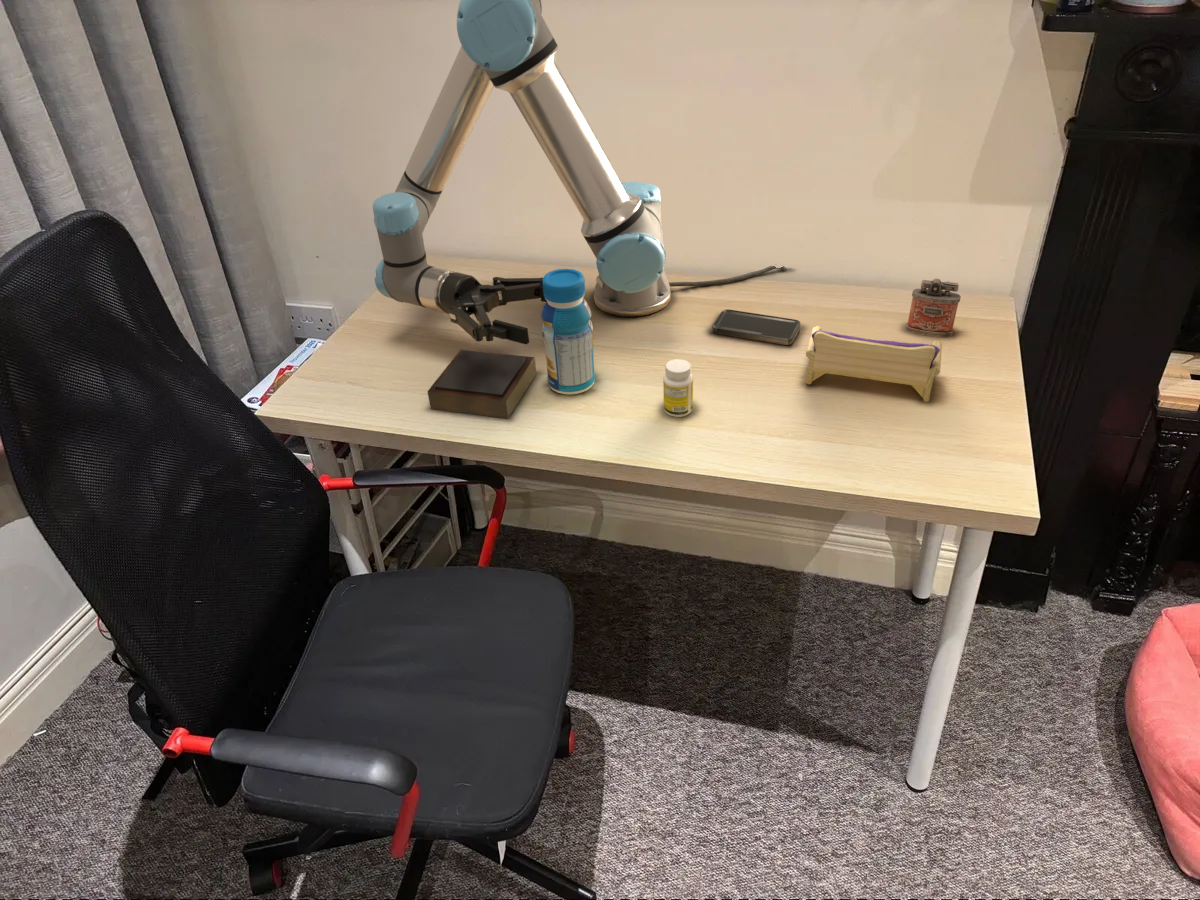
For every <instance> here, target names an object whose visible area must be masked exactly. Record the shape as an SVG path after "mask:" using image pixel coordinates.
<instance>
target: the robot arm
mask: <svg viewBox="0 0 1200 900" xmlns="http://www.w3.org/2000/svg"><path fill="white" fill-rule="evenodd" d="M542 13H543V6H542V0H460V1H459V4H458V9H457V12H456V31H457V36H458V40H459V43H460V48H459V50H458V53H457V55H456V57H455V58H454V61H453V64H452V65H451V67H450V70H449V73H448V74H447V77H446V79H445V81H444V83H443V85H442V88H441V89H440V92H439V94H438V97H437V99H436V100H435V103H434V105H433V107H432V109H431V112H430V114H429V115H428V119H427V120H426V123H425V125H424V127H423V130H422V131H421V134H420V135H419V139H418V140H417V142H416V145H415V148H414V149H413V151H412V153H411V156H410V158H409V161H408V163H407V164H406V167H405V170H404V172H403V174H402V176H401V178H400V180H399V182H398V185H397V186H396V189H395V191H394V192H388V193H385V194H382V195H381V196H380V197H377V198H375V200H374V201H373V203H372V211H373V223H374V227H375V228H376V232H377V237H378V241H379V246H380V251H381V254H382V260H381V261H379V263H378V264H377V266H376V268H375V276H374V284H375V287H376V289H377V291H378V292H379V293H380V294H381V295H382V296H384V297H385V298H389V299H392V300H394V301H396V302H398V303H405V304H410V305H414V306H418V307H422V308H425V309H430V310H432V311H437V312H440V313H444V314H447V315H449V320H450V322H451V323H453V324H455V325H458V326H459V327H460V328H461V329H463V331H465V332H466V333H467V335H468V336H470V337H471V338H472V339H473V340H474V341H475V342H483V340H484V338H485V341H486V342H489V343H491V342H492V341H494V338H496V339H500V340H508V341H511V342H515V343H519V344H522V345H525V346H526V345H529V344H530V337H529V327H525V326H521V325H517V324H514V323H510V322H507V321H503V320H498V319H494V320H492V322H491V319H490V318H489V316H488V314H489V313H491V311H492V310H493V309H496V308H497V307H500V306H502V307H503V306H507V304H508V303H513V302H520V301H529V300H538V299H540V302H542V303H546V301H547V300H546V299H545V297H544V293H543V283H542V281H543V277H507V278H506V277H500V276H494V277H492V283H491V284H482V283H480V282H479V280H478V279H477V278H475V276H473V275H471V274H467V273H462V272H458V271H454V270H450V269H446V268H441V267H437V266H433V265H429V264H428V260H427V253H426V248H425V247H426V246H425V243H424V236H423V233H424V231H425V228H426V226H427V224H428V223H429V220H430V217H431V215H432V214H433V212H434V210H435V208H436V206H437V204H438V201H439V199H440V198H441V195H442V193H443V190H444V188H445V186H446V185H447V182H448V180H449V178H450V177H451V174H452V172H453V170H454V168H455V166H456V164H457V162H458V160H459V158H460V156H461V155H462V152H463V150H464V149H465V146H466V144H467V143H468V140H469V137H470V136H471V134H472V132H473V130H474V127H475V126H476V124H477V122H478V119H479V118H480V116H481V113H482V112H483V109H484V107H485V105H486V103H487V102H488V100H489V97H490V95H491V94H492V92H493V89H494V88H495V89H497V90H501V91H504V92H507V93H508V94H509V95H510V96H511V99H512V100H513V101H514V103H515V105H516V107H517V109H518V110H519V112H520V114H521V115H522V117H523V118H524V121H525V122H526V123H527V125H528V127H529V129H530V130H531V132H532V134H533V136H534V137H535V139H536V140H537V143H538V144H539V146H540V147H541V149H542V151H543V152H544V154H545V157H546V158H547V159H548V161H549V163H550V164H551V166H552V168H553V170H554V171H555V173H556V175H557V176H558V178H559V180H560V182H561V183H562V185H563V186H564V188H565V190H566V192H567V194H568V195H569V197H570V198H571V200H572V202H573V204H574V205H575V207H576V209H577V211H578V212H579V214H580V216H581V217H582V219H583V221H582V225H581V228H580V232H581V234H582V236H583V238H584V240H585V241H586V243H587V245H588V247H589V248H590V250H591V252H592V254H593V256H594V257H595V258H596V261H595V263H596V270H597V273H598V275H596V278H595V281H596V283H595V286H594V291H593V298H594V304H595V306H596V308H598V309H599V310H600V311H603V312H604V313H607V314H609V315H613V316H619V317H641V316H647V315H648V316H649V315H651V314H654V313H657V312H659V311H661V310H663V309H664V308H666V307H667V306H668V305H669V303H670V302H671V297H672V296H671V295H672V293H671V291H672V290H671V287H700V286H701V287H702V286H703V287H704V286H714V285H722V284H728V283H733V282H737V281H741V280H745V279H748V278H752V277H756V276H759V275H763V274H765V273H768V272H771V271H772V270H773V271H774V270H777V269H778V270H781V271H783V272H788V271H789V270H788V268H787V267H786V266H784V265H782V266H783V267H781V268H776V267H775V266H772V265H770V266H767V267H765V268H763V269H759V270H754V271H750V272H748V273H745V274H741V275H738V276H732V277H727V278H722V279H721V278H720V279H714V280H713V279H712V280H704V281H703V280H702V281H672V282H671V281H670V282H669V280H668V277H667V274H666V271H665V269H664V268H665V264H666V257H667V255H666V249H665V246H664V235H663V228H662V226H663V225H662V197H661V189H660V188H659V187H658V186H657V185H655V184H653V183H649V182H639V181H625V182H624V181H623V182H622V181H621V179H620V178H619V176H618V174H617V172H616V170H615V168H614V166H613V165H612V163H611V160H610V159H609V157H608V155H607V153H606V152H605V150H604V148H603V146H602V145H601V143H600V141H599V139H598V136H597V135H596V134H595V131H594V130H593V128H592V127H591V124H590V122H589V121H588V119H587V117H586V115H585V113H584V111H583V110H582V108H581V106H580V104H579V103H578V101H577V99H576V97H575V96H574V93H573V91H572V90H571V88H570V86H569V84H568V82H567V80H566V78H565V77H564V74H562V71H561V70H560V68H559V66H558V64H557V54H558V51H559V44H558V43H557V41H556V39H555V38H554V36H553V34H552V32H551V29H550V28H549V26H548V24H547V23H546V21H545V19H544V17H543V15H542ZM500 296H501V299H500ZM487 313H488V314H487ZM471 315H473V316H474V317H475V319H476V320H475V319H474V318H473V317H471Z"/></svg>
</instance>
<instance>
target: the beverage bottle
mask: <svg viewBox="0 0 1200 900" xmlns="http://www.w3.org/2000/svg"><path fill="white" fill-rule="evenodd" d="M542 278H543V281H542V283H543V293H544V297H545V299H546V300H547V301H546V302H544V305H543V307H542V309H541V314H540V315H541V317H540V318H541V321H542V323H543V324H542V326H541V334H542V338H543V342H544V343H543V344H544V351H545V352H544V353H545V361H546V362H545V363H546V372H547V373H546V374H547V384H548V386H549V388H550V389H551V390H552V391H554V392H555V393H559V394H561V395H577V394H581V393H584V392H587V391H588V390H590V389H591V388H592V387H593V386H594V384H595V382H596V374H595V359H594V342H593V340H594V339H593V334H594V328H593V322H592V321H591V318H592V310H591V308H590V306H589V303H588V302H587V301H586V299H585V298H584V297H585V295H586V280H585V276H584V274H583V273H582V272H581V271H579V270H577V269H573V268H558V269H554V270H551V271H548V272H547V273H545V274H544V275H543V277H542Z"/></svg>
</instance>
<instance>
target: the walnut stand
mask: <svg viewBox="0 0 1200 900" xmlns="http://www.w3.org/2000/svg"><path fill="white" fill-rule="evenodd" d="M536 367H537V365H536V358H535V356H529V355H518V354H508V353H498V352H492V351H491V352H490V351H481V350H473V349H472V350H470V349H463V348H460V350H459V351H458V352H457V353H456V355H455V356H454V357H453V359H452V360H451V361H450V362H449V364H448V365H447V366H446V367H445V368H444V370H443V371H442V372H441V373H440V374H439V376H438V377H437V379H435V381H434V383H432V385H431V386H430V387H429V389H428V390H427V397H428V401H429V407H430V409H431V410H437V411H445V412H452V413H460V414H469V415H475V416H476V415H477V416H485V417H492V418H500V419H508V420H509V418H510V417H511V415H512V413H513V412H514V410H515V409H516V408H517V405H518V404H519V402H520V401H521V400H522V398H523V396H524V395H525V393H526V392H527V390H528V388H529V387H530V385H531V383H533V380H534V378H535V377H536V376H537V368H536Z"/></svg>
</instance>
